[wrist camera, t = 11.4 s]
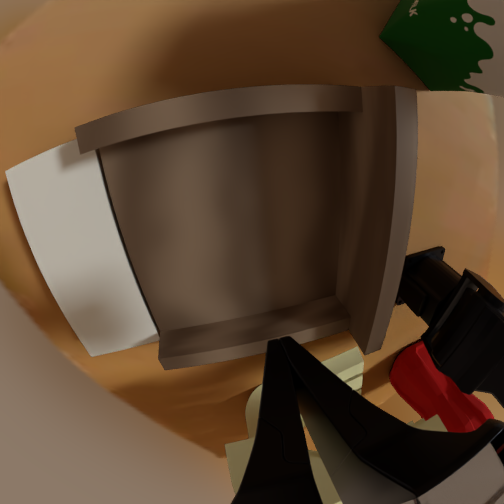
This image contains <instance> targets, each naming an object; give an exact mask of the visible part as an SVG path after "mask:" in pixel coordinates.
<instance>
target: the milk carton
mask: <svg viewBox="0 0 504 504" xmlns="http://www.w3.org/2000/svg"><path fill="white" fill-rule="evenodd" d="M379 38H380V39H382V40H383V41H384V42H385V43H386V44H387V45H388V46H389V47H390V48H391V49H392V50H393V51H394V52H395V53H396V54H397V55H398V56H399V57H400V58H401V59H402V60H403V61H404V62H405V63H406V64H407V65H408V66H409V67H410V68H411V69H412V70H413V71H414V72H415V73H416V75H417V76H418V77H419V78H420V79H421V80H422V81H423V83H424V84H425V85H426V86H427V87H428V88H429V90H430V91H470V92H477V93H483V94H489V95H495V96H500V97H504V0H401V1H400V2H399V4H398V6H397V7H396V9H395V11H394V13H393V14H392V16H391V18H390V19H389V21H388V23H387V24H386V26H385V28H384V29H383V31H382V33H381V35H380V36H379Z"/></svg>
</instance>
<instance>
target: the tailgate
mask: <svg viewBox="0 0 504 504" xmlns="http://www.w3.org/2000/svg"><path fill="white" fill-rule="evenodd" d="M5 172H6V176H7V180H8V184H9V187H10V191H11V194H12V198H13V201H14V204H15V207H16V210H17V213H18V216H19V219H20V222H21V225H22V228H23V230H24V233H25V235H26V238H27V241H28V243H29V245H30V248H31V250H32V253H33V255H34V257H35V259H36V262H37V264H38V266H39V268H40V270H41V272H42V275H43V277H44V279H45V281H46V283H47V285H48V287H49V288H50V290H51V292H52V294H53V296H54V298H55V300H56V302H57V303H58V305H59V307H60V309H61V310H62V312H63V314H64V316H65V317H66V319H67V321H68V322H69V324H70V325H71V327H72V329H73V330H74V332H75V333H76V335H77V336H78V338H79V339H80V341H81V342H82V344H83V345H84V347H85V348H86V350H87V351H88V353H89V354H90V356H91V357H93V356H98V355H102V354H107V353H111V352H115V351H120V350H124V349H128V348H132V347H136V346H140V345H144V344H148V343H152V342H155V341H159V340H160V331H159V328H158V325H157V323H156V321H155V319H154V317H153V314H152V312H151V310H150V307H149V305H148V303H147V300H146V298H145V295H144V293H143V290H142V288H141V285H140V283H139V280H138V278H137V275H136V272H135V270H134V267H133V264H132V261H131V259H130V256H129V253H128V250H127V247H126V244H125V241H124V238H123V235H122V232H121V229H120V226H119V223H118V220H117V216H116V213H115V210H114V206H113V203H112V199H111V195H110V192H109V188H108V184H107V180H106V176H105V172H104V168H103V164H102V159H101V155H100V150H99V148H98V149H95V150H92V151H89V152H87V153H84V154H81V155H80V152H79V147H78V142H77V139H75V140H73V141H70V142H67V143H65V144H62V145H60V146H57V147H55V148H53V149H50V150H48V151H46V152H44V153H41V154H39V155H37V156H35V157H33V158H31V159H28V160H26V161H24V162H22V163H20V164H18V165H16V166H14V167H13V168H11V169H9V170H7V171H5Z"/></svg>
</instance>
